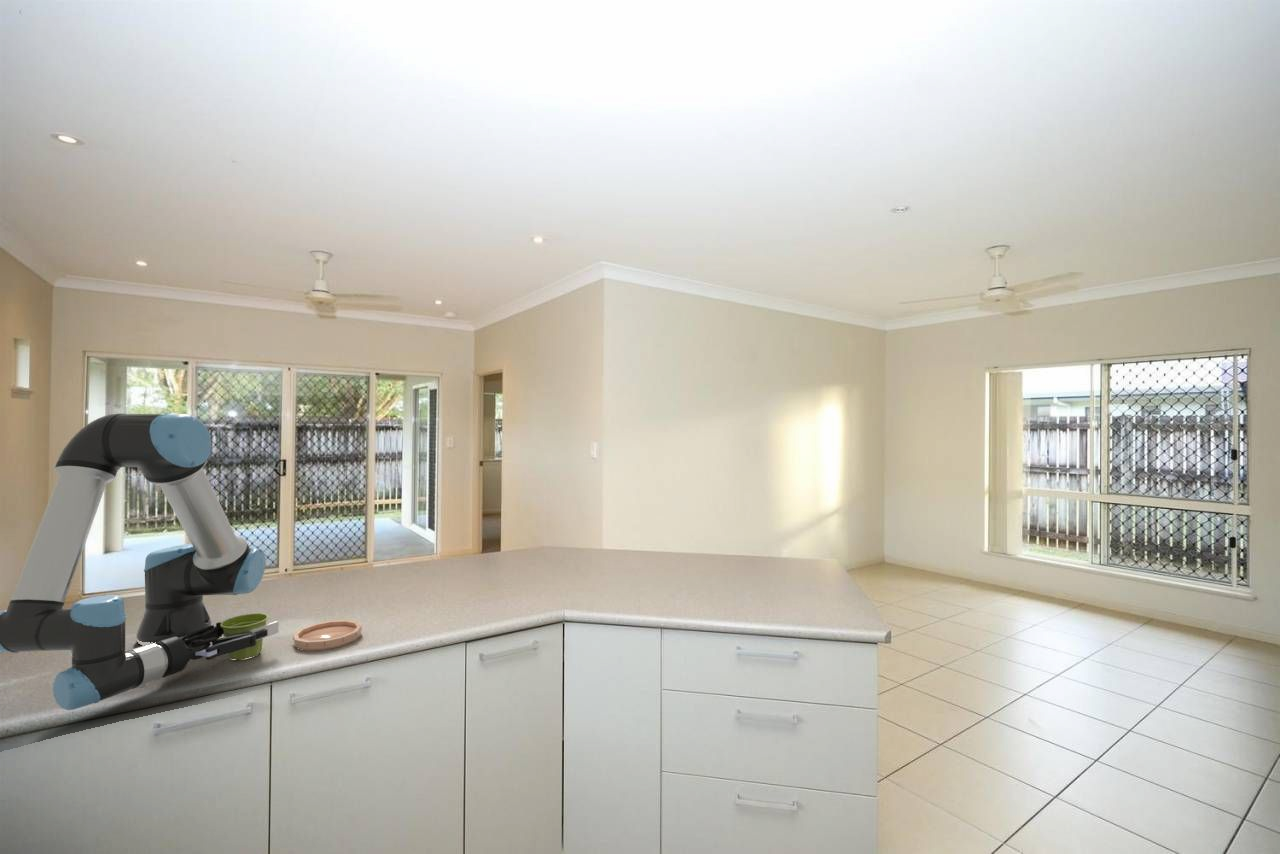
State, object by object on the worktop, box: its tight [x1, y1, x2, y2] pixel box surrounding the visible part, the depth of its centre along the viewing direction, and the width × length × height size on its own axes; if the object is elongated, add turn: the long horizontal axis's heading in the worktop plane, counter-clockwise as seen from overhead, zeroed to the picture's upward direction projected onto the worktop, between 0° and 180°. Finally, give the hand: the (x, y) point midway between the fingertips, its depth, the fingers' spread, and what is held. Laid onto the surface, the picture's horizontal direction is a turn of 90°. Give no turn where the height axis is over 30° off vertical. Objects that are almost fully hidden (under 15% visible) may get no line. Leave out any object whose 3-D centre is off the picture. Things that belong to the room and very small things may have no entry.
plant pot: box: [220, 612, 269, 659], centre depth 136 cm, size 9×9×9 cm
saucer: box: [292, 619, 363, 652], centre depth 147 cm, size 15×15×2 cm
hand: (264, 624), depth 140 cm, fingers closed on plant pot, 8 cm apart
